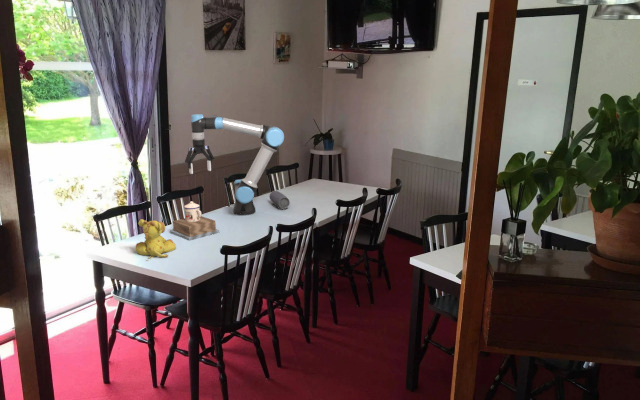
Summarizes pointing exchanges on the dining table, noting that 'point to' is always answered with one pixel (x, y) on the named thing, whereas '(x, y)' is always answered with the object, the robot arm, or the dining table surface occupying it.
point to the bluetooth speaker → (279, 199)
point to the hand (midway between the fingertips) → (200, 172)
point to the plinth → (194, 228)
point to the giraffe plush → (154, 240)
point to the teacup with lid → (192, 212)
